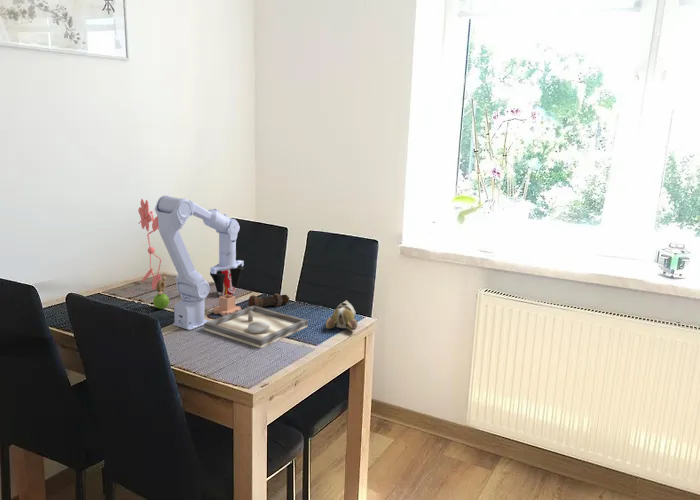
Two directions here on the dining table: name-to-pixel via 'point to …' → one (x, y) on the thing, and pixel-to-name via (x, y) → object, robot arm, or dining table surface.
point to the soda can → (227, 284)
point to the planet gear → (226, 305)
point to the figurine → (145, 223)
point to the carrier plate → (256, 318)
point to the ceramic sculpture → (343, 317)
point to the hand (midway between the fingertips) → (227, 289)
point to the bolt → (268, 300)
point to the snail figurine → (161, 295)
